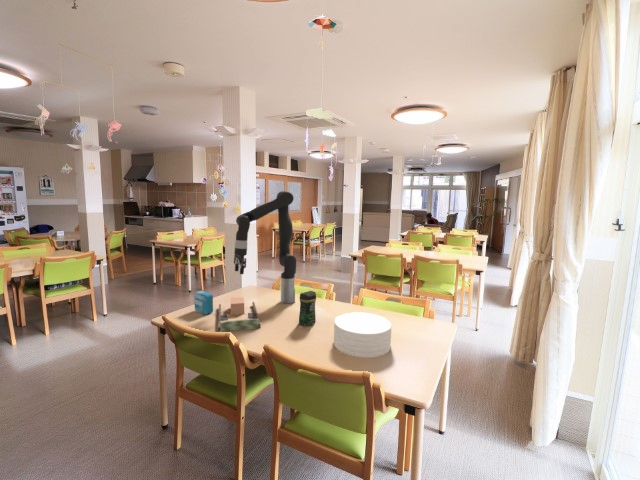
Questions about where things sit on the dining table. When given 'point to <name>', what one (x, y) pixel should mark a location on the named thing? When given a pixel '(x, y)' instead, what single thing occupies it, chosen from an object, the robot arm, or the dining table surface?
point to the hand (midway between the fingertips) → (239, 272)
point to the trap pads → (250, 315)
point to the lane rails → (239, 322)
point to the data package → (203, 302)
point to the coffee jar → (307, 308)
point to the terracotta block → (237, 305)
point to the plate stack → (362, 334)
